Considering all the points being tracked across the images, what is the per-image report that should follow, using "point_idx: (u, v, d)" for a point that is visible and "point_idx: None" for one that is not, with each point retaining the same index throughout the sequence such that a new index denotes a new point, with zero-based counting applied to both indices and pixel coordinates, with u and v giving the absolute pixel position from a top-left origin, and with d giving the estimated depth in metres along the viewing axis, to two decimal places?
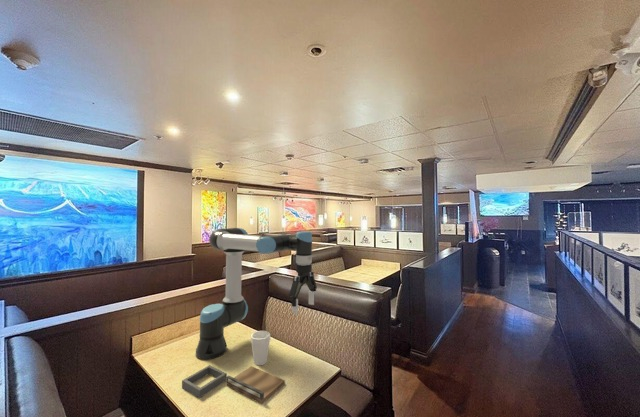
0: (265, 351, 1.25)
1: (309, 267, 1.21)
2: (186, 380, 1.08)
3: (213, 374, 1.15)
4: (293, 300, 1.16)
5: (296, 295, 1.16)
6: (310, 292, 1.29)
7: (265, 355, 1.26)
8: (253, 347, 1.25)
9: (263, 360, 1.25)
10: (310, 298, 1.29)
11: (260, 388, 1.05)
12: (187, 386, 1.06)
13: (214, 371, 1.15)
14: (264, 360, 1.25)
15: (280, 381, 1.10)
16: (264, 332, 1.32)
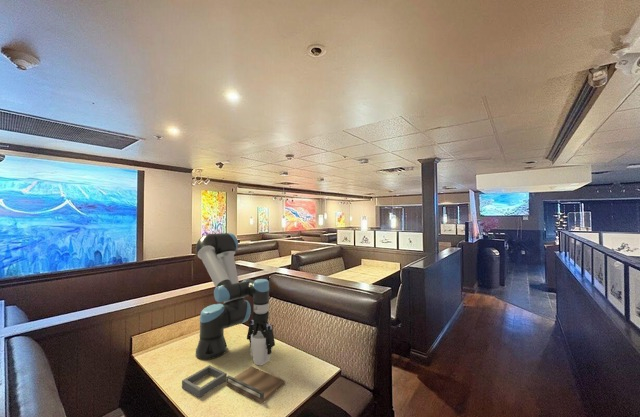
0: (265, 351, 1.25)
1: (254, 316, 1.25)
2: (186, 380, 1.08)
3: (213, 374, 1.15)
4: None
5: (250, 338, 1.30)
6: None
7: None
8: (253, 347, 1.25)
9: (263, 360, 1.25)
10: None
11: (260, 388, 1.05)
12: (187, 386, 1.06)
13: (214, 371, 1.15)
14: (264, 360, 1.25)
15: (280, 381, 1.10)
16: None
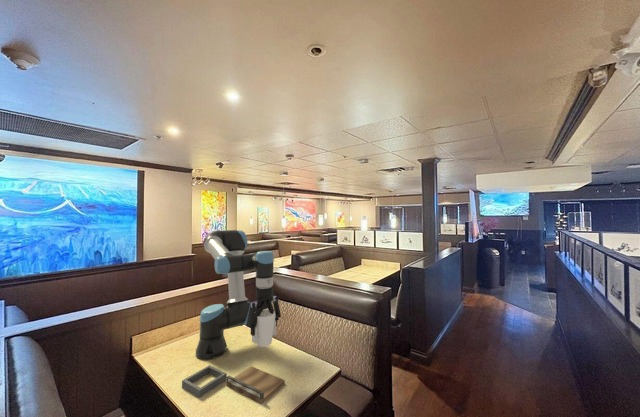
0: None
1: (268, 291, 1.11)
2: (186, 380, 1.08)
3: (213, 374, 1.15)
4: (251, 329, 1.08)
5: (254, 323, 1.08)
6: None
7: None
8: (268, 326, 1.10)
9: None
10: None
11: (260, 388, 1.05)
12: (187, 386, 1.06)
13: (214, 371, 1.15)
14: None
15: (280, 381, 1.10)
16: None
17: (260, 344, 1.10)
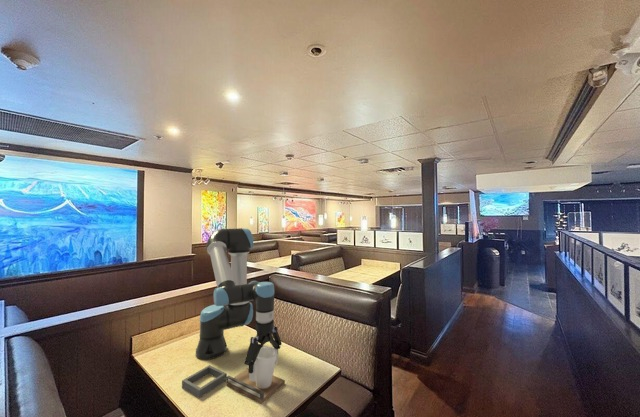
0: None
1: (270, 325, 1.07)
2: (186, 380, 1.08)
3: (213, 374, 1.15)
4: (250, 366, 1.01)
5: (253, 360, 1.02)
6: None
7: None
8: (271, 367, 1.06)
9: None
10: None
11: (260, 388, 1.05)
12: (187, 386, 1.06)
13: (214, 371, 1.15)
14: None
15: (280, 381, 1.10)
16: None
17: (261, 386, 1.05)
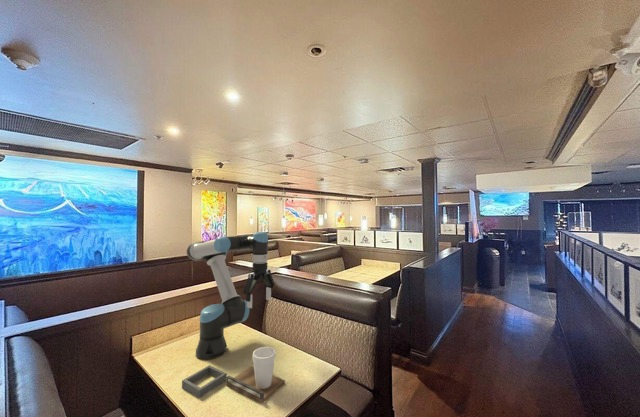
0: None
1: (264, 265, 1.31)
2: (186, 380, 1.08)
3: (213, 374, 1.15)
4: (247, 295, 1.26)
5: (250, 291, 1.26)
6: (267, 288, 1.39)
7: None
8: (270, 367, 1.06)
9: None
10: (267, 294, 1.39)
11: None
12: (187, 386, 1.06)
13: (214, 371, 1.15)
14: None
15: (280, 381, 1.10)
16: (255, 352, 1.10)
17: (261, 386, 1.05)
